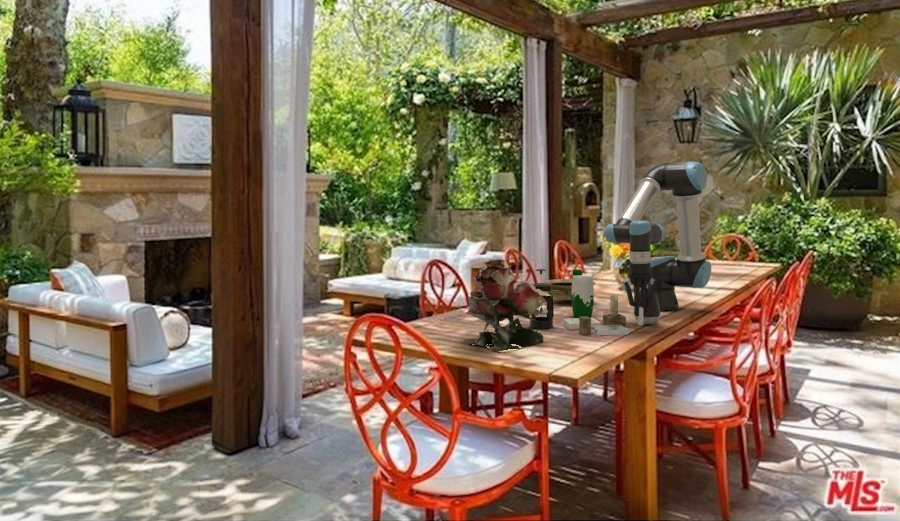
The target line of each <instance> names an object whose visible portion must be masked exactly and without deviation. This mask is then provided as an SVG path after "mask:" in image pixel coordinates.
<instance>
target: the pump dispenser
mask: <svg viewBox="0 0 900 521" xmlns="http://www.w3.org/2000/svg"><path fill="white" fill-rule="evenodd" d="M648 290H649V286H647V289H646V298H647V294H648ZM639 307H641V289H640V290H639ZM633 316H634V320H636V322H637V316H635V308H634V307H633ZM660 317H661V311H660V306H659V302H658V298H657V295H656V293H655V291H654V293H653V297H652V301H651V305H650V306H647V307H646V315H645V316H643V325H644V324H652V325H654V324H656V323H657V322H658V321H659V319H660Z"/></svg>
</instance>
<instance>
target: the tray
mask: <svg viewBox="0 0 900 521" xmlns="http://www.w3.org/2000/svg"><path fill="white" fill-rule="evenodd" d="M562 321H563V323H562V324H563V326H564V327H565V328H567V329H568V330H569V331H579V318H574V317H573V318H563V320H562ZM598 325H601V321H599V320H597V319H596V318H594V317H591V326H598Z"/></svg>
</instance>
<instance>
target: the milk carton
mask: <svg viewBox="0 0 900 521" xmlns="http://www.w3.org/2000/svg"><path fill="white" fill-rule="evenodd" d="M571 279H572V304H571V307H572V308H571V309H572V314H573V315H572V316H573V319H574V318H579V317H581V316H588V317H589V318H593V316H592V315H593V312H594V303H595V302H594V301H595V299H594V298H595V297H594V296H595V295H594V293H595V292H594V291H595V289H594V286H595V285H593V281H594V279H593V273H583V269H572V275H571Z"/></svg>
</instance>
